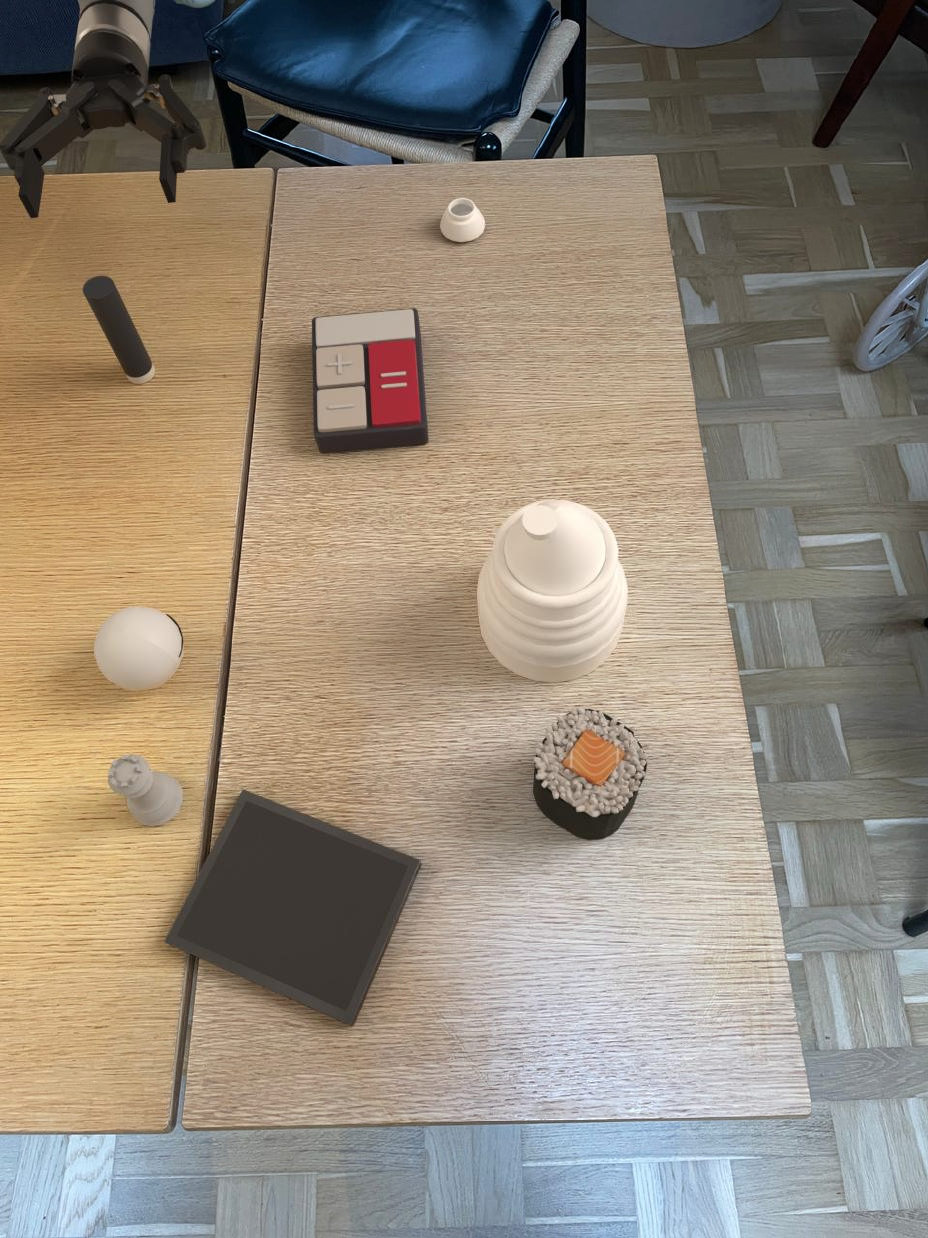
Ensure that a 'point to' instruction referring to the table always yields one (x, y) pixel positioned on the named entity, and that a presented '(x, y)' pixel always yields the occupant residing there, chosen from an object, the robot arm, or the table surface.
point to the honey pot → (552, 592)
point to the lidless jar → (462, 221)
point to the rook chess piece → (145, 790)
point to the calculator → (368, 381)
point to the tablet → (295, 906)
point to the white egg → (139, 648)
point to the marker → (119, 329)
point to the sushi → (588, 773)
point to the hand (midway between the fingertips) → (97, 198)
